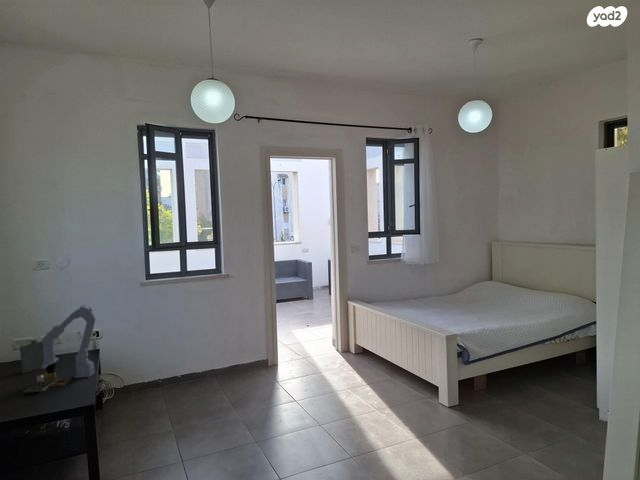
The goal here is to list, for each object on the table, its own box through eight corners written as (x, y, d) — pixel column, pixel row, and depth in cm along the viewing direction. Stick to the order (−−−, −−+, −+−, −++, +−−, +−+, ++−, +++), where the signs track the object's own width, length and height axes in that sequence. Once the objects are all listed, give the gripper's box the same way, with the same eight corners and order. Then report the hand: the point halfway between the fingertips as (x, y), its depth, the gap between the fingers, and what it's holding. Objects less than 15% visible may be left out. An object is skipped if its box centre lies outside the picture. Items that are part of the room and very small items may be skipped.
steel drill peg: (46, 386, 251) (45, 374, 250) (42, 388, 247) (41, 376, 247) (39, 386, 250) (38, 375, 250) (36, 388, 247) (35, 377, 247)
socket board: (54, 383, 255) (54, 381, 255) (43, 392, 243) (43, 389, 243) (39, 385, 255) (39, 382, 254) (26, 393, 243) (26, 390, 242)
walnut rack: (71, 381, 258) (70, 378, 258) (64, 386, 250) (63, 383, 250) (57, 382, 257) (57, 379, 257) (50, 387, 249) (49, 384, 249)
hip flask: (22, 373, 277) (19, 343, 276) (21, 371, 280) (18, 342, 279) (50, 366, 288) (48, 337, 287) (49, 365, 291) (47, 336, 290)
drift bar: (43, 379, 258) (43, 373, 258) (57, 378, 259) (56, 372, 259) (23, 392, 238) (22, 386, 238) (37, 391, 239) (37, 385, 239)
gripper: (49, 351, 266) (51, 372, 267) (35, 358, 251) (37, 381, 252) (61, 350, 266) (62, 371, 267) (47, 357, 252) (49, 380, 253)
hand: (51, 376), depth 260 cm, fingers closed
